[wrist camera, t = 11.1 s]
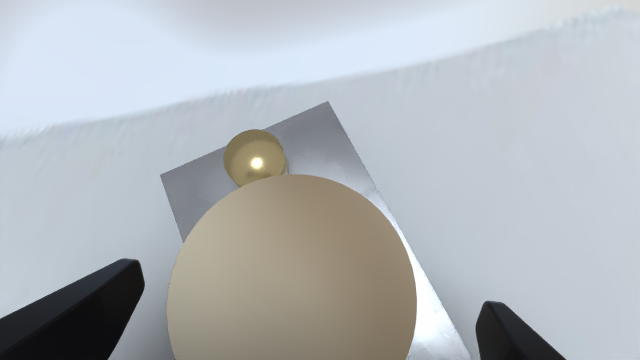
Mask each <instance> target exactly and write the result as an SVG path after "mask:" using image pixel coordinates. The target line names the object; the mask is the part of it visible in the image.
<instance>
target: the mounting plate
mask: <svg viewBox="0 0 640 360" xmlns="http://www.w3.org/2000/svg"><path fill="white" fill-rule="evenodd" d="M286 174H304V175H312V176H318V177H322V178H326V179H330V180H333V181H336V182H338V183H341V184H343V185H345V186H347V187H349V188H351V189H353V190H355V191H357V192H358V193H360V194H361V195H362V196H364V197H365V198H367V199H368V200H369V201H371V202H372V203H373V204H374V205H375V206H376V207H377V208H378V209H379V210H380V211H381V212H382V213H383V214H384V215H385V217H386V218H387V219H388V220H389V221H390V222H391V224H392V225H393V227H394V228H395V230H396V231H397V233H398V235H399V236H400V238H401V240H402V242H403V244H404V246H405V248H406V250H407V253H408V256H409V259H410V261H411V264H412V267H413V272H414V277H415V282H416V291H417V320H416V325H415V331H414V337H413V340H412V344H411V347H410V350H409V353H408V356H407V358H406V360H469V359H471V358H472V357H471V356H470V354H469V352H468V350H467V348H466V347H465V345H464V343H463V341H462V339H461V338H460V336H459V334H458V332H457V331H456V329H455V327H454V325H453V323H452V322H451V320H450V318H449V316H448V314H447V313H446V311H445V309H444V307H443V306H442V304H441V302H440V300H439V298H438V297H437V295H436V293H435V291H434V289H433V288H432V286H431V284H430V282H429V281H428V279H427V277H426V275H425V273H424V272H423V270H422V268H421V266H420V264H419V263H418V261H417V259H416V257H415V256H414V254H413V252H412V250H411V248H410V247H409V245H408V243H407V241H406V240H405V238H404V236H403V234H402V232H401V231H400V229H399V227H398V225H397V223H396V222H395V220H394V218H393V216H392V215H391V213H390V211H389V209H388V207H387V206H386V204H385V202H384V200H383V198H382V197H381V195H380V193H379V191H378V190H377V188H376V186H375V184H374V182H373V181H372V179H371V177H370V175H369V173H368V172H367V170H366V168H365V166H364V165H363V163H362V161H361V159H360V157H359V156H358V154H357V152H356V150H355V148H354V147H353V145H352V143H351V141H350V140H349V138H348V136H347V134H346V132H345V131H344V129H343V127H342V125H341V123H340V122H339V120H338V118H337V116H336V115H335V113H334V111H333V109H332V107H331V106H330V104H329V102H328V101H327V102H325V103H322V104H320V105H318V106H316V107H313V108H311V109H309V110H307V111H304V112H302V113H300V114H297V115H295V116H293V117H291V118H288V119H286V120H284V121H282V122H279V123H277V124H275V125H273V126H270V127H268V128H266V129H263V130H248V131H245V132H242V133H240V134H238V135H237V136H235V137H234V138H233V139H232V140H231V141H230V142H229V144H228V145H227V146H225V147H223V148H220V149H218V150H216V151H214V152H211V153H209V154H207V155H204V156H202V157H200V158H198V159H195V160H193V161H191V162H189V163H186V164H184V165H182V166H180V167H177V168H175V169H173V170H170V171H168V172H166V173H164V174H161V175H160V176H161V179H162V182H163V185H164V188H165V191H166V194H167V197H168V200H169V203H170V205H171V208H172V211H173V214H174V217H175V220H176V223H177V226H178V229H179V231H180V234H181V237H182V240H183V243H184V242H185V240H186V238H187V236H188V235H189V234H190V232H191V231H192V229H193V228H194V226H195V225H196V223H197V222H198V221H199V220H200V219H201V218H202V217H203V216H204V214H205V213H206V212H207V211H208V210H209V209H210V208H212V207H213V206H214V205H215V204H216V203H217V202H218V201H220V200H221V199H222V198H224V197H225V196H227V195H228V194H230V193H231V192H233V191H235V190H237V189H238V188H240V187H242V186H244V185H247V184H249V183H252V182H254V181H257V180H260V179H264V178H268V177H271V176H278V175H286Z"/></svg>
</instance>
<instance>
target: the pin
mask: <svg viewBox="0 0 640 360" xmlns="http://www.w3.org/2000/svg"><path fill="white" fill-rule="evenodd" d="M416 320H417V291H416V282H415V277H414V272H413V267H412V264H411V261H410V259H409V256H408V253H407V250H406V248H405V246H404V244H403V242H402V240H401V238H400V236H399V235H398V233H397V231H396V230H395V228H394V227H393V225H392V224H391V222H390V221H389V220H388V219H387V218H386V217H385V215H384V214H383V213H382V212H381V211H380V210H379V209H378V208H377V207H376V206H375V205H374V204H373V203H372V202H371V201H369V200H368V199H367V198H365V197H364V196H362V195H361V194H360V193H358V192H357V191H355V190H353V189H351V188H349V187H347V186H345V185H343V184H341V183H338V182H336V181H333V180H330V179H326V178H322V177H318V176H312V175H304V174H286V175H278V176H271V177H268V178H264V179H260V180H257V181H254V182H252V183H249V184H247V185H244V186H242V187H240V188H238V189H237V190H235V191H233V192H231V193H230V194H228V195H227V196H225V197H224V198H222V199H221V200H220V201H218V202H217V203H216V204H215V205H214V206H213V207H212V208H210V209H209V210H208V211H207V212H206V213H205V214H204V216H203V217H202V218H201V219H200V220H199V221H198V222H197V223H196V225H195V226H194V228H193V229H192V231H191V232H190V234H189V235H188V236H187V238H186V240H185V242H184V244H183V246H182V248H181V249H180V251H179V254H178V256H177V259H176V262H175V264H174V267H173V270H172V274H171V278H170V282H169V288H168V296H167V325H168V333H169V338H170V342H171V347H172V351H173V354H174V356H175V359H176V360H406V358H407V356H408V353H409V350H410V347H411V344H412V340H413V337H414V331H415V325H416Z"/></svg>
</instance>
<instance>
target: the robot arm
mask: <svg viewBox="0 0 640 360" xmlns="http://www.w3.org/2000/svg"><path fill="white" fill-rule="evenodd" d="M144 287H145V282H144V277H143V273H142V269H141V264H140V262H139V261H138V260H135V259H126V258H124V259H120V260H118V261H116V262H114V263H112V264H110V265H108V266H106V267H104V268H102V269H100V270H98V271H96V272H94V273H92V274H90V275H88V276H86V277H84V278H82V279H80V280H78V281H76V282H74V283H71V284H69V285H67V286H65V287H63V288H61V289H59V290H57V291H55V292H53V293H51V294H49V295H47V296H45V297H43V298H41V299H39V300H37V301H35V302H33V303H31V304H29V305H27V306H25V307H23V308H21V309H19V310H17V311H15V312H13V313H11V314H9V315H7V316H5V317H3V318H1V319H0V360H108V358H109V357H110V355H111V353H112V352H113V350H114V348H115V347H116V345H117V343H118V341H119V339H120V337H121V336H122V334H123V331H124V329H125V327H126V325H127V323H128V321H129V319H130V317H131V315H132V313H133V311H134V309H135V307H136V305H137V303H138V301H139V299H140V297H141V295H142V293H143V291H144ZM476 337H477V342H478V348H479V353H480V358H481V360H566V359H565V358H564V357H563V356H562V355H561V354H560V353H558V352H557V351H556V350H555V349H554V348H553V347H552V346H551V345H550V344H548V343H547V342H546V341H545V340H544V339H543V338H542V337H541V336H540V335H539V334H537V333H536V332H535V331H534V330H533V329H532V328H531V327H530V326H529V325H527V324H526V323H525V322H524V321H523V320H522V319H521V318H520V317H519V316H517V315H516V314H515V313H514V312H513V311H512V310H511V309H510V308H509V307H508V306H506V305H505V304H504V303H501V302H495V301H486V302H484V304H483V306H482V308H481V311H480V314H479V317H478V319H477V322H476Z"/></svg>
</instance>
